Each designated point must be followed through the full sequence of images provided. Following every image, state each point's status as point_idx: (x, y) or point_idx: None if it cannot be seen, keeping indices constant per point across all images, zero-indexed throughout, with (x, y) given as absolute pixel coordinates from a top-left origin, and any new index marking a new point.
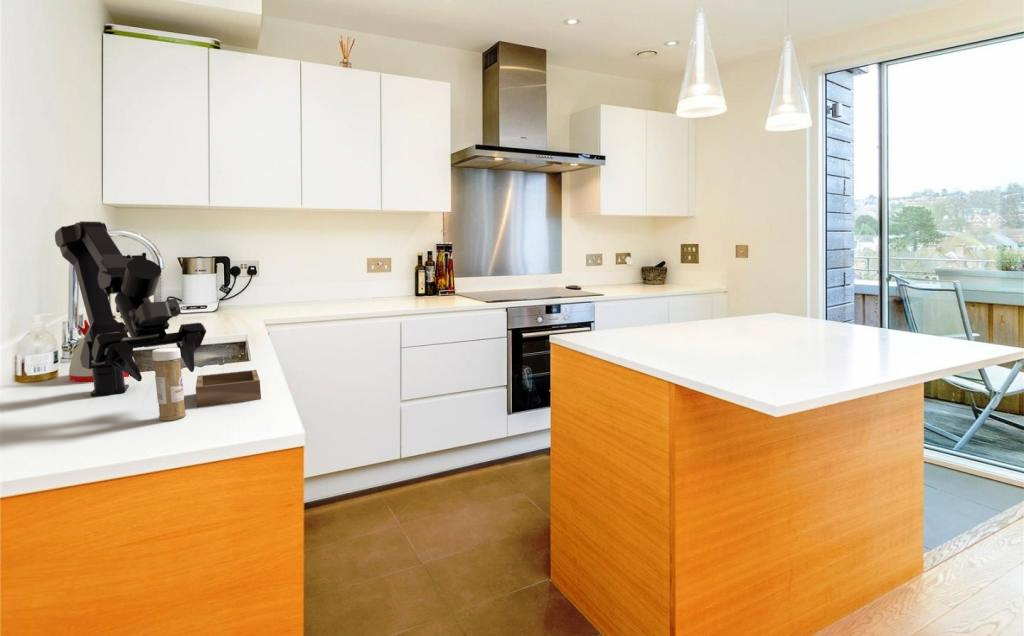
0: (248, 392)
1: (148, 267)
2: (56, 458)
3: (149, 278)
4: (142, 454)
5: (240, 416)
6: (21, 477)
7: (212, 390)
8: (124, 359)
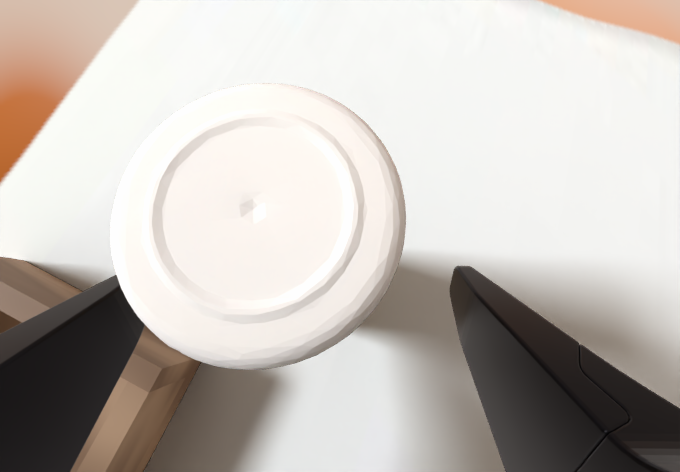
0: (27, 273)
1: None
2: (660, 152)
3: None
4: (493, 26)
5: None
6: None
7: None
8: (644, 391)
